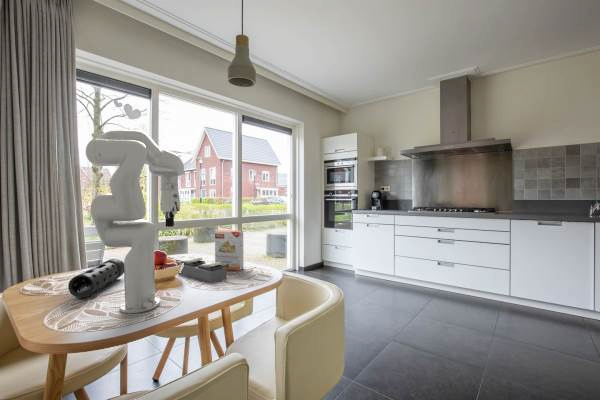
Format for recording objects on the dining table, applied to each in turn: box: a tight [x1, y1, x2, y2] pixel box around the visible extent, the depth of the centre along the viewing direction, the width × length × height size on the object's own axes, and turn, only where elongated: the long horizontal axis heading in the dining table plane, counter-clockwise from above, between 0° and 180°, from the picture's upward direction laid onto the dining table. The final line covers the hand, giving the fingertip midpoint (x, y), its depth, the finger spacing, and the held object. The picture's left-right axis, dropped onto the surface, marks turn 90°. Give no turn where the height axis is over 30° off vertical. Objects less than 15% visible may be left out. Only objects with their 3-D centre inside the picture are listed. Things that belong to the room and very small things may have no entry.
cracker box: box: [214, 229, 244, 272], centre depth 151 cm, size 14×6×21 cm, turn 81°
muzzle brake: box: [67, 258, 124, 300], centre depth 122 cm, size 10×28×10 cm, turn 9°
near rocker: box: [201, 261, 220, 268], centre depth 136 cm, size 8×5×2 cm, turn 55°
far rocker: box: [184, 257, 203, 263], centre depth 144 cm, size 8×5×2 cm, turn 55°
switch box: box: [179, 260, 227, 284], centre depth 140 cm, size 26×9×6 cm, turn 55°
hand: (169, 226), depth 134 cm, fingers closed
